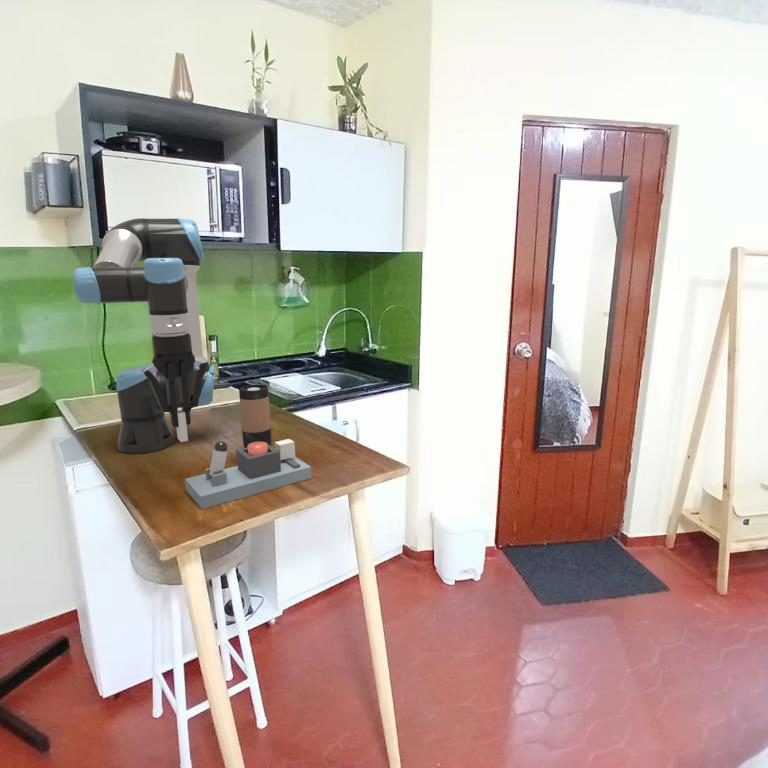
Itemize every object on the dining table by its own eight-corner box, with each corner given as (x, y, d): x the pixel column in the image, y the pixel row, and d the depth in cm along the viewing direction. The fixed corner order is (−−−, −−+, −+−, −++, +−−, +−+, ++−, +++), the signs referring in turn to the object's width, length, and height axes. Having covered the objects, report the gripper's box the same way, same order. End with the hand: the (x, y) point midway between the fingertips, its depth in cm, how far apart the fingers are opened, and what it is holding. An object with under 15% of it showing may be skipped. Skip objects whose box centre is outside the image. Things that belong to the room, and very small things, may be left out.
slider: (275, 456, 132) (274, 442, 131) (289, 453, 134) (289, 438, 133) (280, 460, 130) (279, 445, 129) (295, 456, 132) (294, 441, 131)
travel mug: (278, 457, 142) (274, 386, 138) (254, 465, 137) (249, 392, 132) (262, 451, 147) (257, 382, 142) (238, 458, 142) (232, 387, 137)
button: (246, 465, 126) (244, 444, 125) (264, 461, 129) (262, 440, 128) (253, 471, 123) (252, 449, 121) (271, 466, 125) (270, 445, 124)
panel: (185, 490, 122) (182, 458, 120) (289, 463, 138) (288, 435, 136) (202, 509, 113) (198, 475, 111) (311, 478, 128) (310, 447, 126)
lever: (208, 473, 120) (214, 439, 119) (219, 473, 121) (225, 440, 121) (212, 476, 118) (218, 442, 117) (223, 477, 119) (230, 443, 119)
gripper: (141, 339, 101) (155, 451, 107) (208, 332, 109) (217, 438, 115) (133, 334, 107) (147, 441, 113) (197, 328, 115) (206, 429, 121)
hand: (182, 439), depth 114 cm, fingers closed
